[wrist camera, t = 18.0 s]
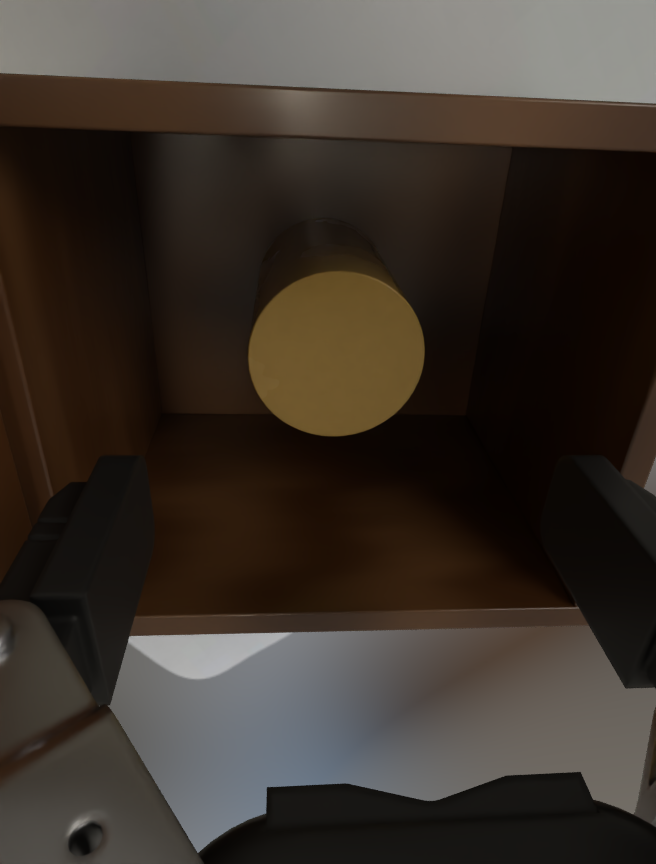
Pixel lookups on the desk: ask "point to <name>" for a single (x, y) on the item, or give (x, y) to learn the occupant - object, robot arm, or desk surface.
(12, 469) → the lid
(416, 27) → the desk surface
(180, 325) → the chest
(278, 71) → the desk surface
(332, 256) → the spice tin
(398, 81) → the desk surface
